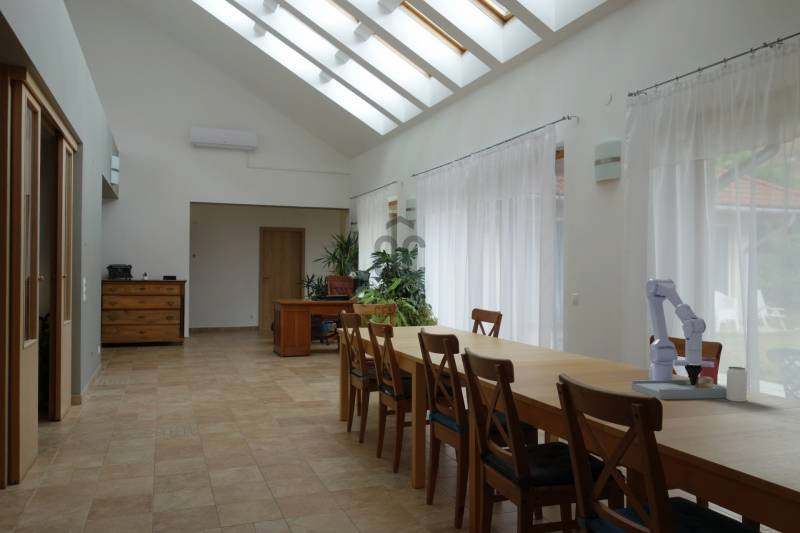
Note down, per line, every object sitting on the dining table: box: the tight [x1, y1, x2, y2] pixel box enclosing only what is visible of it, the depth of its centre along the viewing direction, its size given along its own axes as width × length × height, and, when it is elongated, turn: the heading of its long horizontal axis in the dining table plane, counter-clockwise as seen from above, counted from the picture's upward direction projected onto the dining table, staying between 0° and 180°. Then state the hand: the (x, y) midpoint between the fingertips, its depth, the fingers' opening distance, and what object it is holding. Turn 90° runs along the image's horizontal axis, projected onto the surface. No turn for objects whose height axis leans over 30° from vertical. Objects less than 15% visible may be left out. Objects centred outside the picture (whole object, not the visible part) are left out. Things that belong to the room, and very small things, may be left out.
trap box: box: [631, 379, 727, 400], centre depth 240 cm, size 19×29×4 cm, turn 100°
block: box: [695, 375, 713, 388], centre depth 238 cm, size 5×5×4 cm
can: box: [725, 366, 748, 403], centre depth 228 cm, size 6×6×12 cm
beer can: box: [699, 356, 719, 385], centre depth 255 cm, size 7×7×12 cm
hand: (692, 385), depth 239 cm, fingers closed
